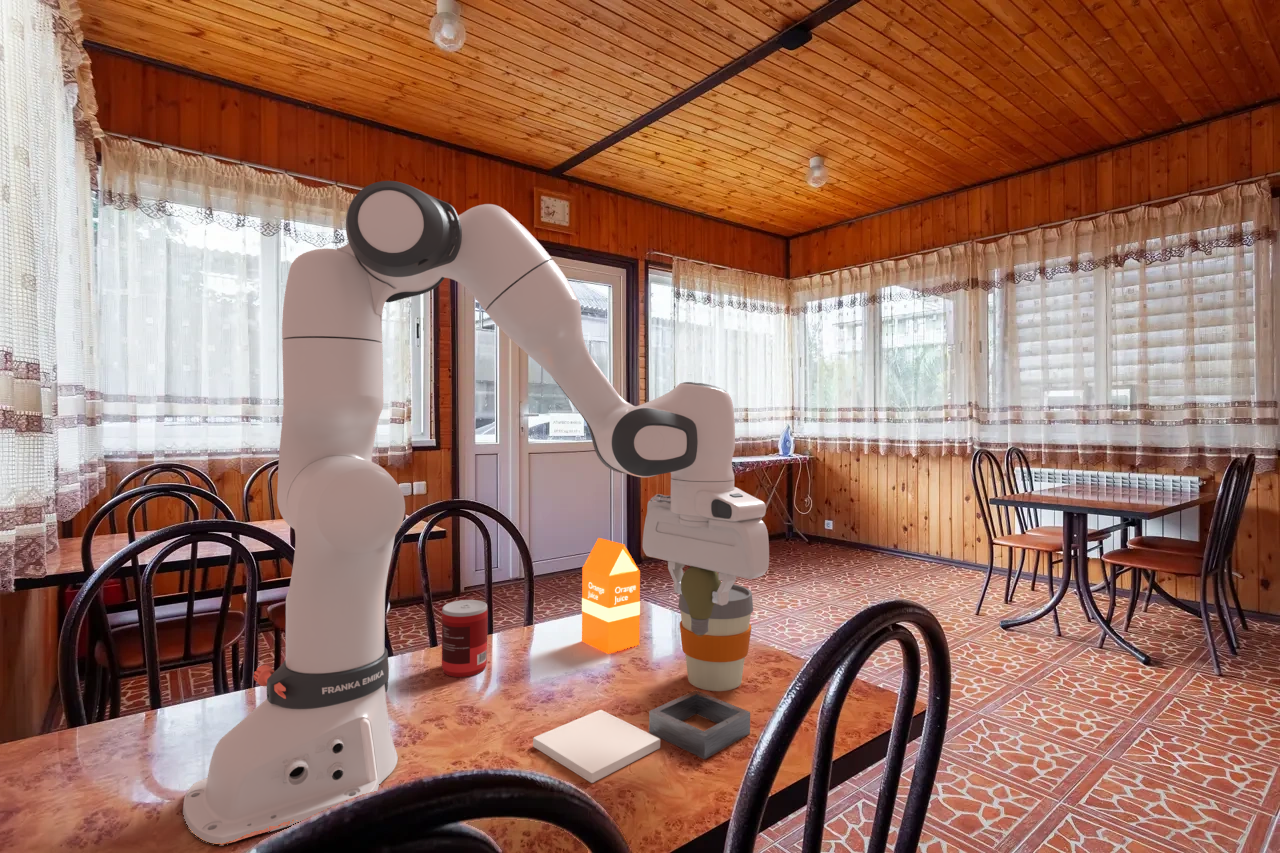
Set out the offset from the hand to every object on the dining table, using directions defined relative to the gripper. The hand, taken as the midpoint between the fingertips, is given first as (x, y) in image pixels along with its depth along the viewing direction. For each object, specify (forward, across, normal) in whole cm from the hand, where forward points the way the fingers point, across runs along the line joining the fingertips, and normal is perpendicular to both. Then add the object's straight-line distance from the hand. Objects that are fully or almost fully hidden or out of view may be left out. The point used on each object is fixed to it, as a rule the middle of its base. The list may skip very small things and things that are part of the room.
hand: (700, 598), depth 90 cm
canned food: (+19, -43, -12) cm, 48 cm away
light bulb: (+5, 0, 0) cm, 5 cm away
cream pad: (+19, -7, -13) cm, 24 cm away
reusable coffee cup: (+19, -10, +16) cm, 27 cm away
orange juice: (+19, -35, +15) cm, 43 cm away
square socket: (+19, 0, 0) cm, 19 cm away
